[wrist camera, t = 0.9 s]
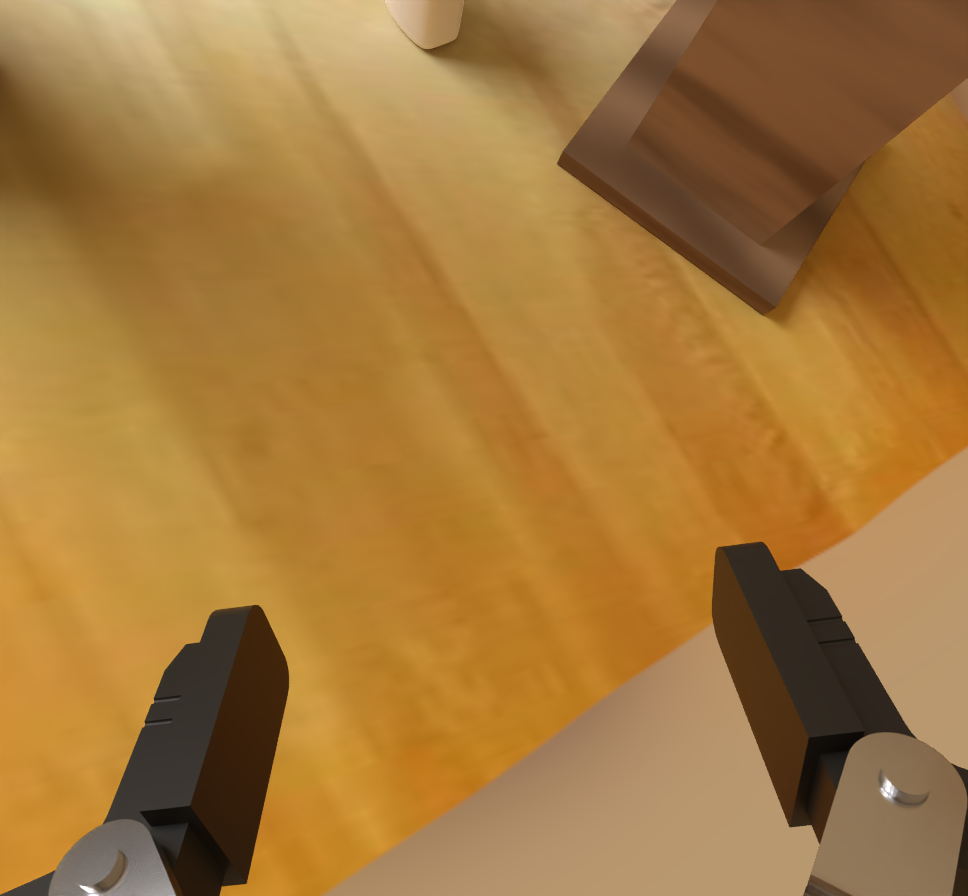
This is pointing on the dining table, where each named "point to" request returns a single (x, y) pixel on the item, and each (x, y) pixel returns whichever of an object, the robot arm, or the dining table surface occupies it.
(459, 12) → the eye dropper bottle
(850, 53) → the shelf stand
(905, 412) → the dining table surface
